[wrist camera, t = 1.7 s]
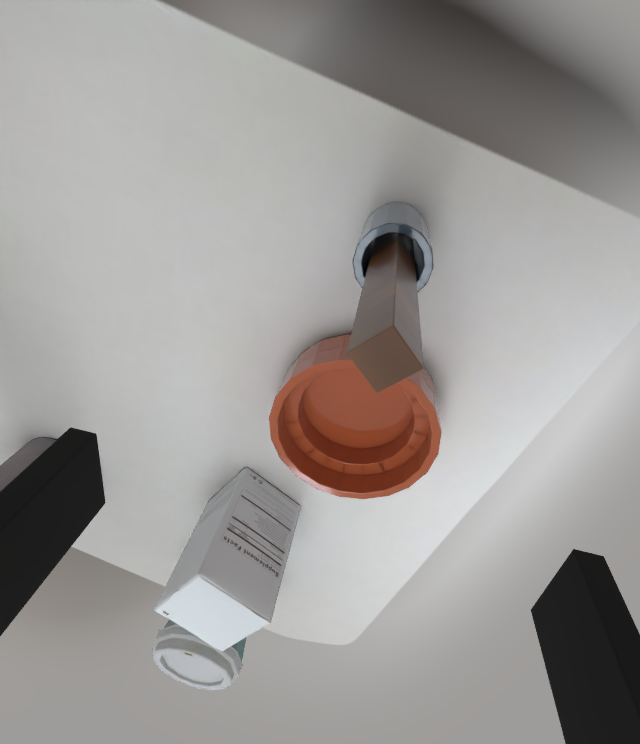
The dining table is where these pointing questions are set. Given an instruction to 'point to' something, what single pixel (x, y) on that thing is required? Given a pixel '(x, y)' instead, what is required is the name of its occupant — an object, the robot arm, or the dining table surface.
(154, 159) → the dining table surface
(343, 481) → the bowl
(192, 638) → the disposable coffee cup
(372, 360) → the stirring stick
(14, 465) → the pillar candle
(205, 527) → the rectangular carton
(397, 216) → the gray pipe section
